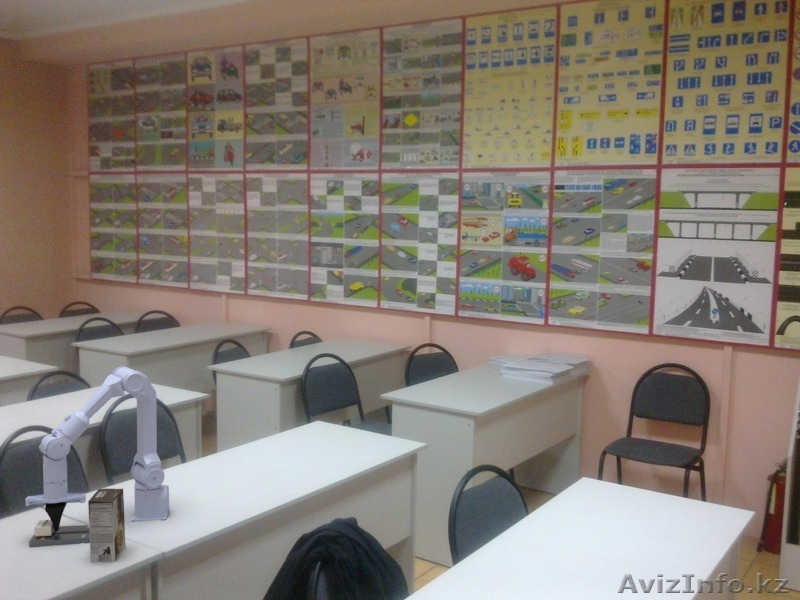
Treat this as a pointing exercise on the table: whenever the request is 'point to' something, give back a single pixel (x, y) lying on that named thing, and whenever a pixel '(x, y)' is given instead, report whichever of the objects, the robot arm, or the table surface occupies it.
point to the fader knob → (44, 528)
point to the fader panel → (63, 536)
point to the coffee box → (106, 525)
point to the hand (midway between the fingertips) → (56, 529)
